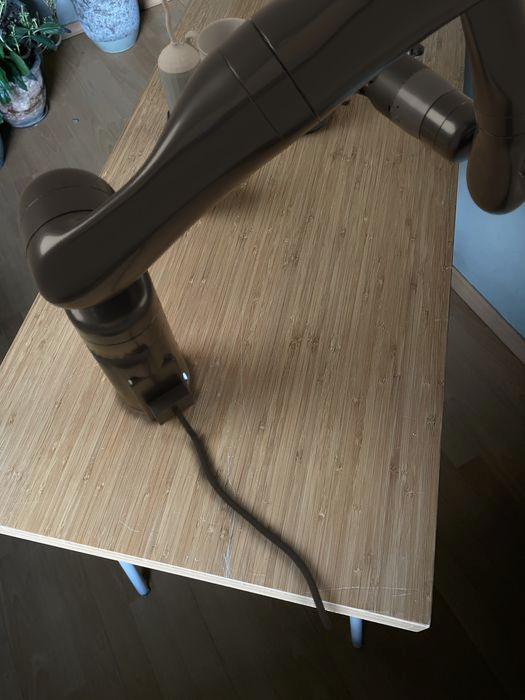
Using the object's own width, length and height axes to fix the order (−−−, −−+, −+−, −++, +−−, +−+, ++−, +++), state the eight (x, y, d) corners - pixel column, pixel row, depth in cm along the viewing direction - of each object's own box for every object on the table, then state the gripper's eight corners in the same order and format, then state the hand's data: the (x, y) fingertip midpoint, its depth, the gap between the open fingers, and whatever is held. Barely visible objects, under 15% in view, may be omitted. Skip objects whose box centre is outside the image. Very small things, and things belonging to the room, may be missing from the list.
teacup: (273, 68, 108) (270, 26, 102) (241, 103, 104) (235, 61, 97) (212, 49, 113) (205, 7, 106) (178, 81, 109) (169, 40, 102)
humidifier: (166, 116, 104) (126, -34, 83) (211, 106, 105) (183, -47, 83) (173, 146, 100) (134, -4, 79) (220, 135, 100) (194, -18, 79)
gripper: (464, 48, 73) (378, -5, 81) (375, 96, 70) (294, 35, 77) (451, 101, 80) (373, 47, 87) (369, 147, 76) (295, 86, 84)
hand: (336, 41), depth 82 cm, fingers open, 8 cm apart
